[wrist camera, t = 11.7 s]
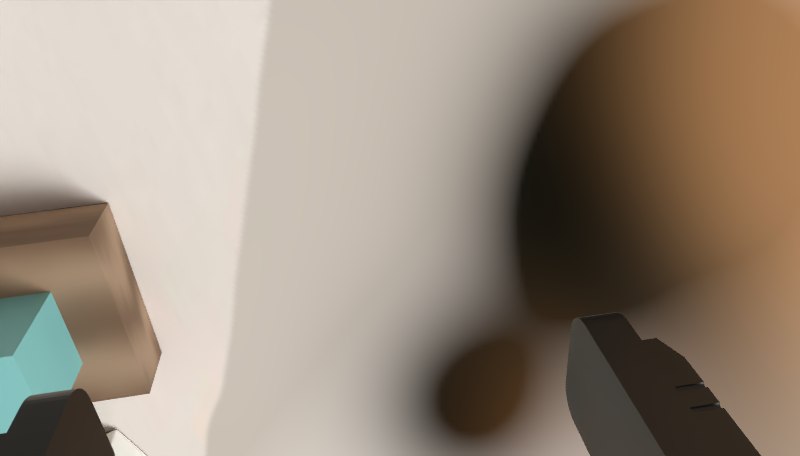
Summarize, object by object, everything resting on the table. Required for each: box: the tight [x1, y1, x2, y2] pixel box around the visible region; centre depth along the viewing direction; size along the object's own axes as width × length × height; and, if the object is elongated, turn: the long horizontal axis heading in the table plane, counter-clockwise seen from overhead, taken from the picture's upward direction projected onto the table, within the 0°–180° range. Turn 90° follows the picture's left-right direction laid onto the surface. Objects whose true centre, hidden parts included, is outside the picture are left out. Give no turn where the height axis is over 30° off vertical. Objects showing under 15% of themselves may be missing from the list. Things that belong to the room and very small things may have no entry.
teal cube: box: [0, 292, 83, 434], centre depth 35 cm, size 6×6×6 cm
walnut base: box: [0, 203, 161, 402], centre depth 39 cm, size 12×12×4 cm
